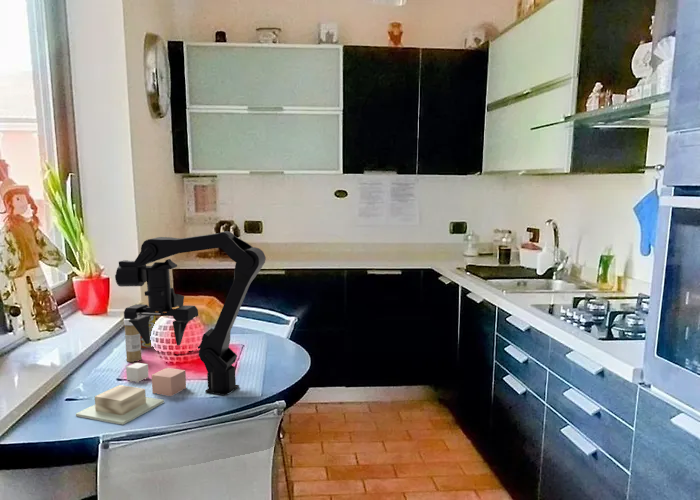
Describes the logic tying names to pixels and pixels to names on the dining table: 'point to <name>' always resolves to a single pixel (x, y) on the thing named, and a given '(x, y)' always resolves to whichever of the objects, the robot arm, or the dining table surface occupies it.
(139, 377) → the cap block
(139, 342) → the sprinkles bottle
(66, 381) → the dining table surface
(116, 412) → the block
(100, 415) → the baseplate
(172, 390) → the coral block
